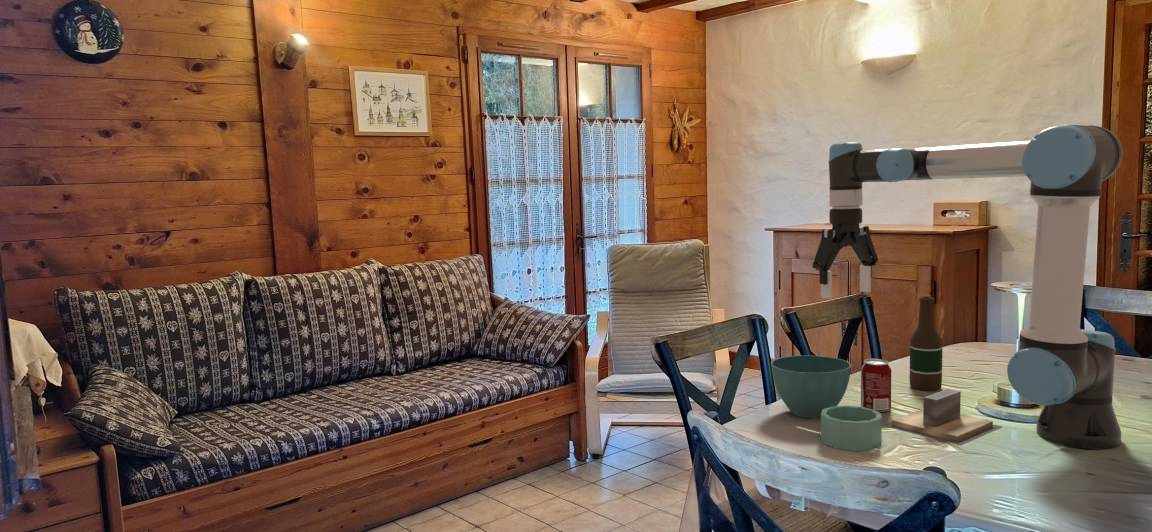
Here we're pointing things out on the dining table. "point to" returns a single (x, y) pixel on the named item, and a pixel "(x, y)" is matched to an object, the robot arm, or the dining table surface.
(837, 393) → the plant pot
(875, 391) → the soda can
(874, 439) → the bowl
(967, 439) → the mat
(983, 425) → the lid
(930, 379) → the beer bottle
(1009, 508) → the dining table surface
